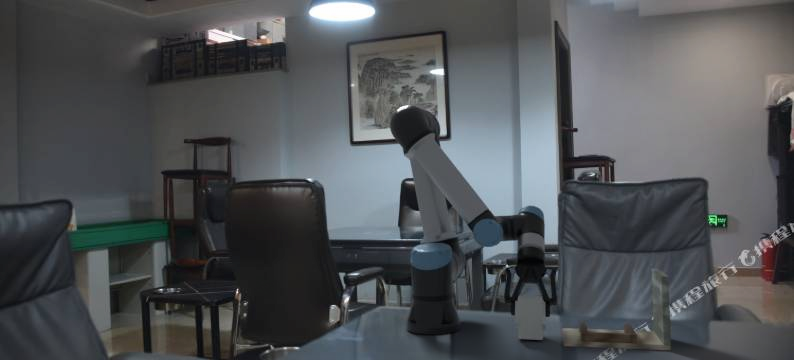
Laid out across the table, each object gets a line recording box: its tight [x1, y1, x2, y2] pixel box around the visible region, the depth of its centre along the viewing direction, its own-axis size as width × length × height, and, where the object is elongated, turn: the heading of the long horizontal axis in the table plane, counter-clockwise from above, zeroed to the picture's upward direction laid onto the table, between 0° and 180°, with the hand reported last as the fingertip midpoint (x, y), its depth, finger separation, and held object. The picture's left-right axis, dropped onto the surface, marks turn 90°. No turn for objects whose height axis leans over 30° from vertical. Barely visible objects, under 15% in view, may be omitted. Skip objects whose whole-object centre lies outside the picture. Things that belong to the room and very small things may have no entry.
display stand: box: [561, 268, 672, 351], centre depth 143 cm, size 24×13×17 cm, turn 75°
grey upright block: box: [517, 294, 544, 341], centre depth 147 cm, size 6×6×10 cm
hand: (530, 326), depth 143 cm, fingers closed on grey upright block, 6 cm apart
